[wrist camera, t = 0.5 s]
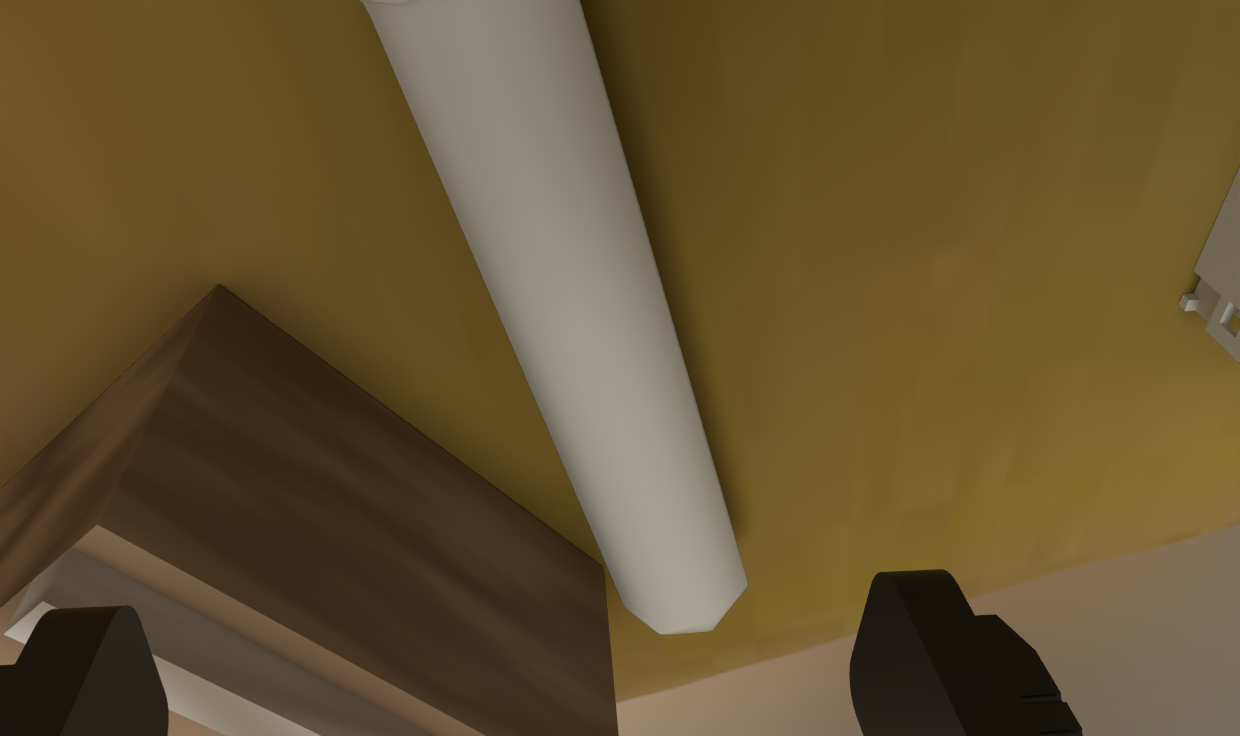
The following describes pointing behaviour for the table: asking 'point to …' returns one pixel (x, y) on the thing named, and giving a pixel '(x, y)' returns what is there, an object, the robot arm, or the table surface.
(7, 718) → the robot arm
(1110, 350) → the table surface
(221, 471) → the stand
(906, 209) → the table surface
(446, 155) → the tube
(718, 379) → the table surface
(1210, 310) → the circuit breaker
